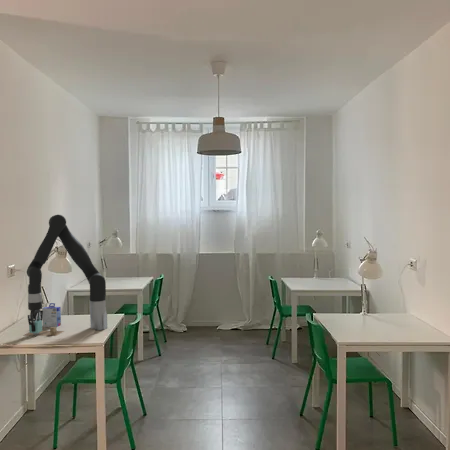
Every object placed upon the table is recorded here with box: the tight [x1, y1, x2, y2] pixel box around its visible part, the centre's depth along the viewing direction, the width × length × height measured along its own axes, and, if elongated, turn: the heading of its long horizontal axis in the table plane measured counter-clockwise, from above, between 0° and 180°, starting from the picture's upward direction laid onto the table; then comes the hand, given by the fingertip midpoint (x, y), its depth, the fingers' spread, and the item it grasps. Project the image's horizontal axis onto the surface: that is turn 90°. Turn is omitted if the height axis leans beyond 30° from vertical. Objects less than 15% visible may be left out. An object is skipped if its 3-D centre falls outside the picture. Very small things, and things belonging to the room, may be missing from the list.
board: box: [22, 330, 65, 337], centre depth 298 cm, size 20×11×1 cm, turn 83°
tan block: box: [49, 327, 58, 335], centre depth 294 cm, size 3×3×4 cm
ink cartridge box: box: [41, 302, 62, 328], centre depth 316 cm, size 10×6×14 cm, turn 81°
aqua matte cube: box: [28, 319, 43, 333], centre depth 295 cm, size 5×5×6 cm
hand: (36, 330), depth 295 cm, fingers closed on aqua matte cube, 5 cm apart
